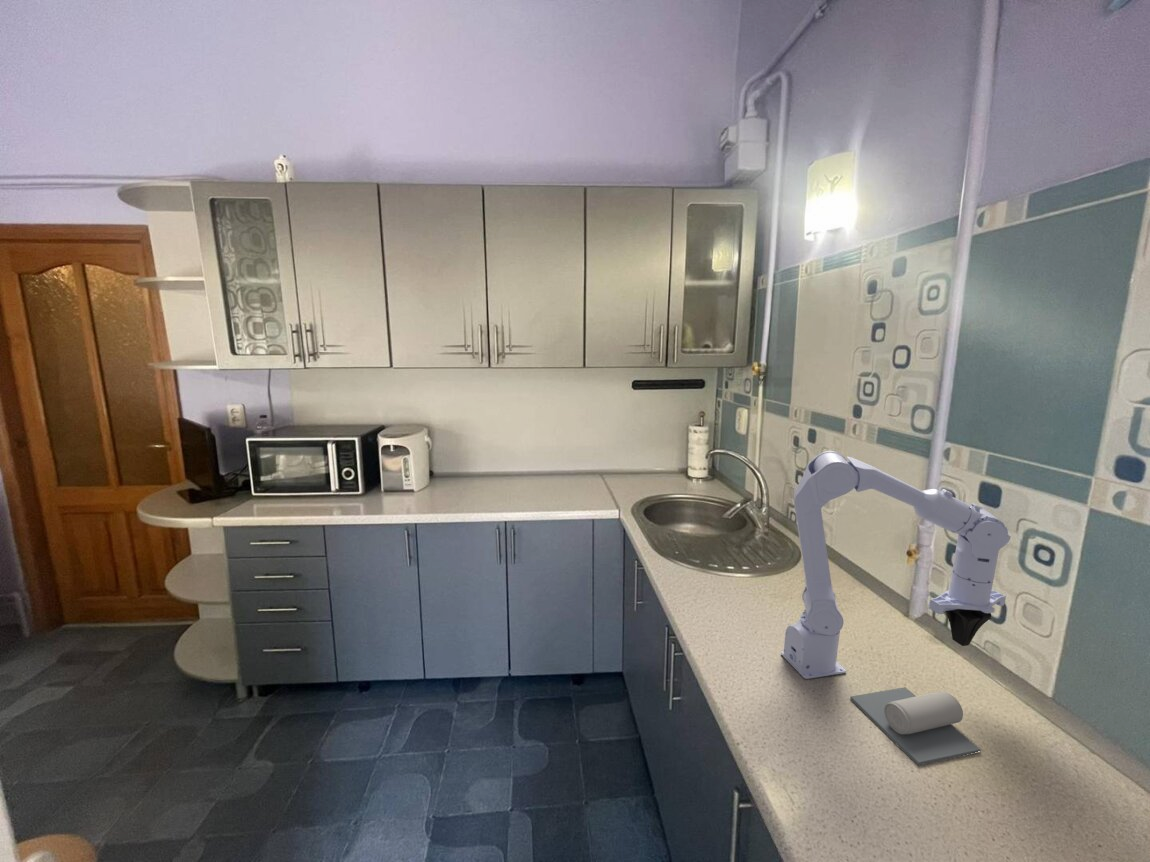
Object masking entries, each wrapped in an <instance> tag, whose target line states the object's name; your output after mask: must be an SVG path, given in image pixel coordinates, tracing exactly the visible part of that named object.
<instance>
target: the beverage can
mask: <svg viewBox="0 0 1150 862" xmlns="http://www.w3.org/2000/svg"><path fill="white" fill-rule="evenodd" d="M915 696H916V697H911V698H906V699H902V700H897V701H892V702H890V703H888V704H886V706H885V708H884V714H885V717H886V720H887V722H888V723H889V725H890V726H891V727H892V729H893V730H895V731H896V732H897V733H899V734H912V733H917V732H921V731H925V730H929V729H933V728H938V727H942V726H946V725H950V724H951V725H954V724H958V723H960V722H961V721H962V720H963V718H964V711H963V708H962V705H961V703H960V702H959V700H958V699H957V698H956V697H955V696H954V695H953V694H951V693H949V692H947V691H944V690H941V691H935V692H930V693H927V694H926V693H925V694H921V695H915Z"/></svg>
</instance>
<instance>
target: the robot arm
mask: <svg viewBox="0 0 1150 862" xmlns="http://www.w3.org/2000/svg"><path fill="white" fill-rule="evenodd" d="M846 457H847V459H848V460H847V459H846ZM846 457H845V456H844V455H843V454H841V453H839V452H838V451H833V450H826V451H824V452H821V453H819V454H818V455H816V456H815V457H814V458H812V459H811V460H810V461H809V462H808V463H807V465H806V468H805V471H804V473H803V475H802V477H801V479H800V481H799V483H798V484H797V486H796V489H795V490H794V492H793V504H794V511H795V517H796V524H797V532H798V539H799V544H800V551H801V558H802V559H801V560H802V565H803V574H804V582H805V583H804V585H805V586H804V589H803V591H802V594H801V597H802V601H803V604H804V608H805V609H804V610H803V612H802V614H801V615H800V618H799V620H798V621H797V622H795V623H794V624H790V625H789V626H787V628H786V630H785V634H784V645H783V646H784V647H783V650H782V651H781V652H780V654H781V655H782V656H783V658H784V659H785V660H786V661H787V662H788V663H789V664H790V665H791V666H792V667H793V668H794V669H795V670H796V671H797V672H798V674H799V675H801V677H803V679H804V680H805V679H806V680H809V679H816V678H821V677H822V678H823V677H827V676H834V675H840V674H846V673H847V670H846V669H845V668H844V667H843V666H842V665H841V664H840V663H839V662H838V661H837V659H838V658H837V657H838V652H839V651H838V650H839V644H840V643H839V642H840V635H841V634H840V633H841V630H842V628H843V627H844V617H843V614H842V613H841V611H840V608H839V605H838V602H837V597H836V595H835V592H834V590H833V584H832V579H831V578H832V577H831V572H830V564H829V557H828V549H827V543H826V533H825V528H824V521H823V515H822V514H823V513H822V508H823V507H824V506H825V505H827V504H828V503H829V502H830V501H832V500H835V499H837V498H840V497H842V496H845V495H847V494H848V493H850V492H851V491H853V490H854V489H855V491H856V492H857V493H860V492H864V491H867V490H871V489H872V490H875V491H877V492H879V493H881V494H883V495H886V496H888V497H891V498H893V499H895V500H897V501H900V502H903V503H906V504H907V505H909V506H912V507H913V509H914V512H915V515H916V516H917V517H919V518H921V519H923V520H925V521H927V522H929V523H932V524H934V525H935V526H938V527H940V528H941V529H942V528H943V529H944V530H947V531H949V532H951V533H952V534H956V535H958V537H957V543H956V546H955V553H954V559H953V565H952V569H951V576H950V582H949V586H948V590H946V591H944V592H942V593H941V594H939V595H938V596H937V597H934V598H930V599H929V605H928V609H929V610H931V611H932V612H934V613H936V614H937V615H942V614H944V612H945V615H946V616H947V619H948V622H949V626H950V630H951V631H950V632H951V638H952V640H953V642H955V643H957V644H959V645H960V646H961V647H966V646H969V645H970V644H971V642H972V641H973V639H974V637H975V636H976V634H977V633H978V631H979V630H980V628H981V627H982V626H983V625H984V624H985V623H986V622H988V621H989V620H991V619H992V614H994V613H995V611H996V609H995V607H994V605H997V606H999V607H1001V606H1005V603H1006V598H1007V596H1006V595H1005V594H1003V593H1001V592H998V591H996V590H993V583H994V579H995V573H996V569H997V564H998V559H999V552H1000V550H1001V549H1002V548H1004V547H1005V546H1006V545H1008V543H1009V542H1010V540H1011V537H1012V536H1011V535H1009V531H1008V530H1009V529H1008V527H1007V526H1006V524H1005V523H1004V522H1003V521H1001V520H1000V519H999V518H997V517H996V516H995V515H993V514H992V513H991V512H989V511H988V510H986V509H984V508H983V507H981V506H979V505H978V504H976V503H971V504H969V503H967V502H965V501H963V500H960V499H958V498H956V497H954V494H953V493H952V492H951V491H949V490H947V489H945V488H943V489H941V490H938V489H937V488H930V489H929V488H928V489H925V490H921V489H919V488H917V487H916V486H913V485H911V484H909V483H907V482H905V481H903V480H902V479H899V478H897V477H896V476H893V475H891V474H889V473H887V472H885V471H883V470H881V469H879V468H877V467H875V466H873V465H871V464H868V463H866V462H863V461H861V460H859V459H856V458H854V457H852V456H846Z"/></svg>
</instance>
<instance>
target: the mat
mask: <svg viewBox="0 0 1150 862" xmlns="http://www.w3.org/2000/svg"><path fill="white" fill-rule="evenodd" d="M916 696H917V695H916V694H914V693H913V692H912V691H910V689H908V688H907V687H904V686H903V687H899V688H892V689H887V690H882V691H881V690H880V691H874V692H870V693H864V694H863V693H862V694H857V695H853V696H850V701H851V702H852V703H853V704H854V705H855V706H857V708H859V709H860V710H861V712H862V713H864V715H866V716H867V718H869V720H870V721H872V722H873V723H874V724H875V726H877V727H878V729H880V730H881V731H882V732H883V733H884V734H885V735H886V736H887V737H888V738H890V740H891V741H892V742H893V743H894V744H895V745H896V746H898V747H899V749H900V750H901V751H902V752H904V753H905V754H906V755H907V756H908V757H909V759H910V760H912V761H913V763H915V764H916V765H917V766H922V765H927V764H931V763H936V762H941V761H945V760H950V759H955V758H954V757H956V758H959V756H961V757H964V756H963V755H966V756H968V755H967V754H970V755H972V754H971V753H975V752H978V751H980V752H981V751H982V750H981V748H980V747H978V745H976V744H975V743H974V742H973V741H971V740H970V739H969V738H968V737H966V736H965V734H963V733H962V732H960V731H959V730H958V729H956V727H954V726H953V724H950V725H946V726H942V727H938V728H933V729H929V730H925V731H921V732H917V733H912V734H899V733H897V732H896V731H895V730H893V729H892V727H891V726H890V725H889V723H888V722H887V720H886V717H885V714H884V708H885V706H886V704H888V703H890V702H892V701H897V700H902V699H906V698H911V697H916ZM975 754H976V753H975Z"/></svg>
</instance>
